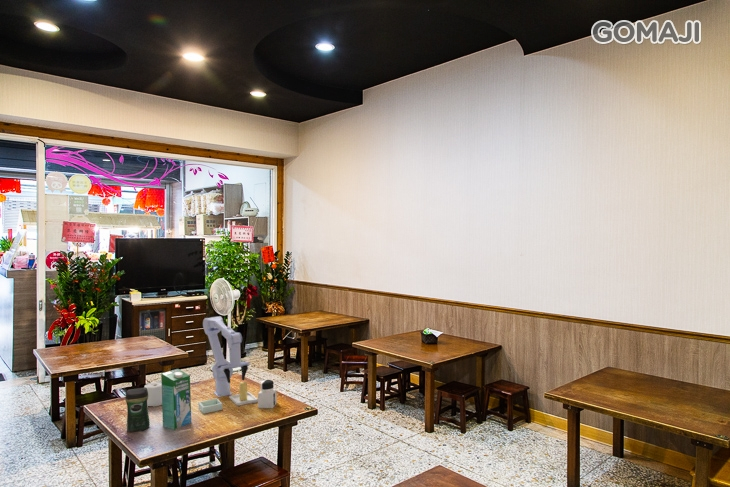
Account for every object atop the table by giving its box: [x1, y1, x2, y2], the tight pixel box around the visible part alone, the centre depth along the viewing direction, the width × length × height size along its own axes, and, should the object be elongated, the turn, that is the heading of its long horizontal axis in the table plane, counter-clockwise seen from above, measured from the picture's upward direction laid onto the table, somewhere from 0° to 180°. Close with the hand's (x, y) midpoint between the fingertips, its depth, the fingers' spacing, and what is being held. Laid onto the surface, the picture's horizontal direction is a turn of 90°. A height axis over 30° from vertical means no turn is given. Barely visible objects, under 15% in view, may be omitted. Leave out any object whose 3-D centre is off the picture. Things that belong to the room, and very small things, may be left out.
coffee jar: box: [125, 387, 151, 432], centre depth 218 cm, size 10×8×19 cm
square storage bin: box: [197, 397, 224, 414], centre depth 240 cm, size 10×10×4 cm
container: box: [257, 379, 278, 409], centre depth 244 cm, size 8×8×13 cm
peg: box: [238, 381, 248, 401], centre depth 252 cm, size 4×4×9 cm
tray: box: [228, 391, 258, 407], centre depth 252 cm, size 14×11×2 cm
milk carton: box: [160, 368, 192, 431], centre depth 221 cm, size 9×9×25 cm
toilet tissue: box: [143, 380, 162, 407], centre depth 252 cm, size 11×12×10 cm
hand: (236, 381), depth 253 cm, fingers open, 7 cm apart
